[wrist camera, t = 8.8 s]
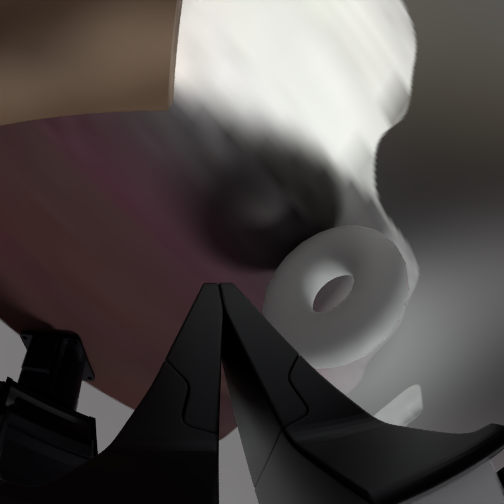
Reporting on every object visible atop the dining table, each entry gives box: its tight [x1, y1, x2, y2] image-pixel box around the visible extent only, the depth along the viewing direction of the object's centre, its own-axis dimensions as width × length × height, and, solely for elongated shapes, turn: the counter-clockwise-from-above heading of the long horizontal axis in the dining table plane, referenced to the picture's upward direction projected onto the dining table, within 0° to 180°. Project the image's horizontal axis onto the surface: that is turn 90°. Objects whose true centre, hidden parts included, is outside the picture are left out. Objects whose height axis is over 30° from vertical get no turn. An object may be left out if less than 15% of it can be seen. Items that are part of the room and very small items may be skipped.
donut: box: [263, 225, 409, 369], centre depth 20 cm, size 10×4×10 cm, turn 128°
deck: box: [0, 0, 182, 125], centre depth 10 cm, size 12×14×4 cm
